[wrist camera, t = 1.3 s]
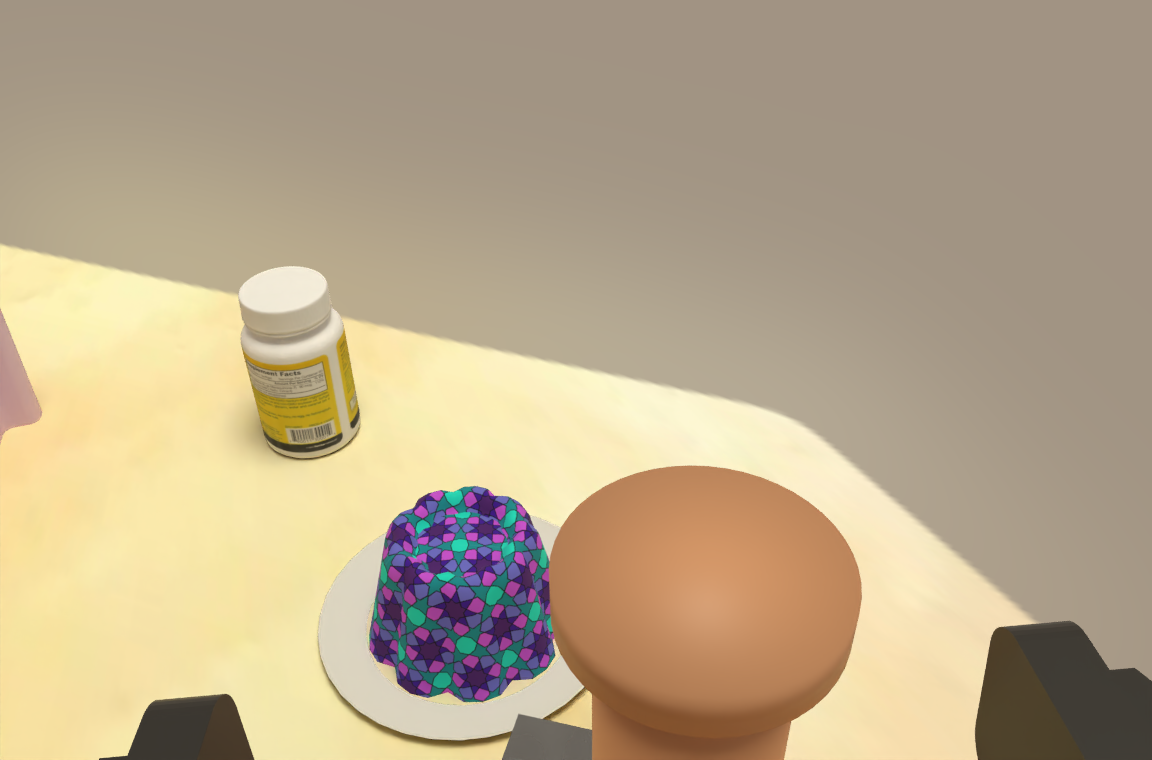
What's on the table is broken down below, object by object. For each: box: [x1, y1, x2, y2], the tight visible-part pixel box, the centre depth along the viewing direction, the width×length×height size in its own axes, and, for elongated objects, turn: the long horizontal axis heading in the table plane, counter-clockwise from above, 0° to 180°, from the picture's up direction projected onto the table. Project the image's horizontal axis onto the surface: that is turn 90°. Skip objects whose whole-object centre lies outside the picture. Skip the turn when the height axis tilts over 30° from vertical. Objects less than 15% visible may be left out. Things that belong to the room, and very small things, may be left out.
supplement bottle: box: [239, 266, 360, 458], centre depth 50 cm, size 5×5×8 cm
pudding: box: [318, 486, 584, 740], centre depth 41 cm, size 12×12×5 cm
